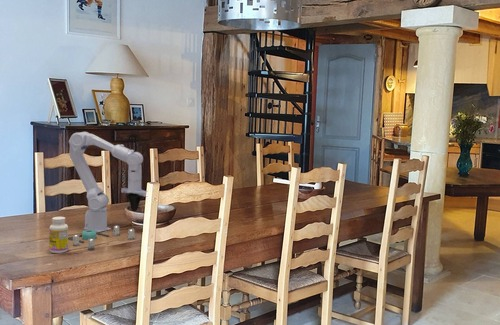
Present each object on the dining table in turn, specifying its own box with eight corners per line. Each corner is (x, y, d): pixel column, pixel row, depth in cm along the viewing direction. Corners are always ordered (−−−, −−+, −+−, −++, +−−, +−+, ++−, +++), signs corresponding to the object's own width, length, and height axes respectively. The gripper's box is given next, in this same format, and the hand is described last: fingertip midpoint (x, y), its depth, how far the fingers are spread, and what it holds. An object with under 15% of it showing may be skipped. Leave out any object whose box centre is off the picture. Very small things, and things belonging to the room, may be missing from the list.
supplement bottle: (46, 250, 202) (46, 217, 200) (63, 247, 206) (63, 215, 205) (54, 254, 197) (54, 220, 196) (71, 251, 202) (71, 218, 200)
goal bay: (67, 239, 219) (67, 237, 219) (94, 233, 231) (94, 231, 231) (82, 243, 214) (82, 241, 214) (109, 236, 226) (109, 235, 225)
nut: (79, 238, 221) (79, 231, 221) (89, 236, 226) (89, 228, 226) (88, 240, 218) (88, 233, 218) (98, 238, 223) (98, 231, 223)
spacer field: (71, 245, 210) (71, 235, 210) (116, 234, 230) (116, 225, 229) (90, 250, 204) (90, 240, 204) (135, 238, 224) (135, 229, 223)
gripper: (116, 179, 234) (116, 209, 235) (140, 182, 226) (139, 214, 227) (128, 177, 240) (127, 207, 241) (151, 181, 232) (151, 211, 233)
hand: (134, 210), depth 235 cm, fingers closed
